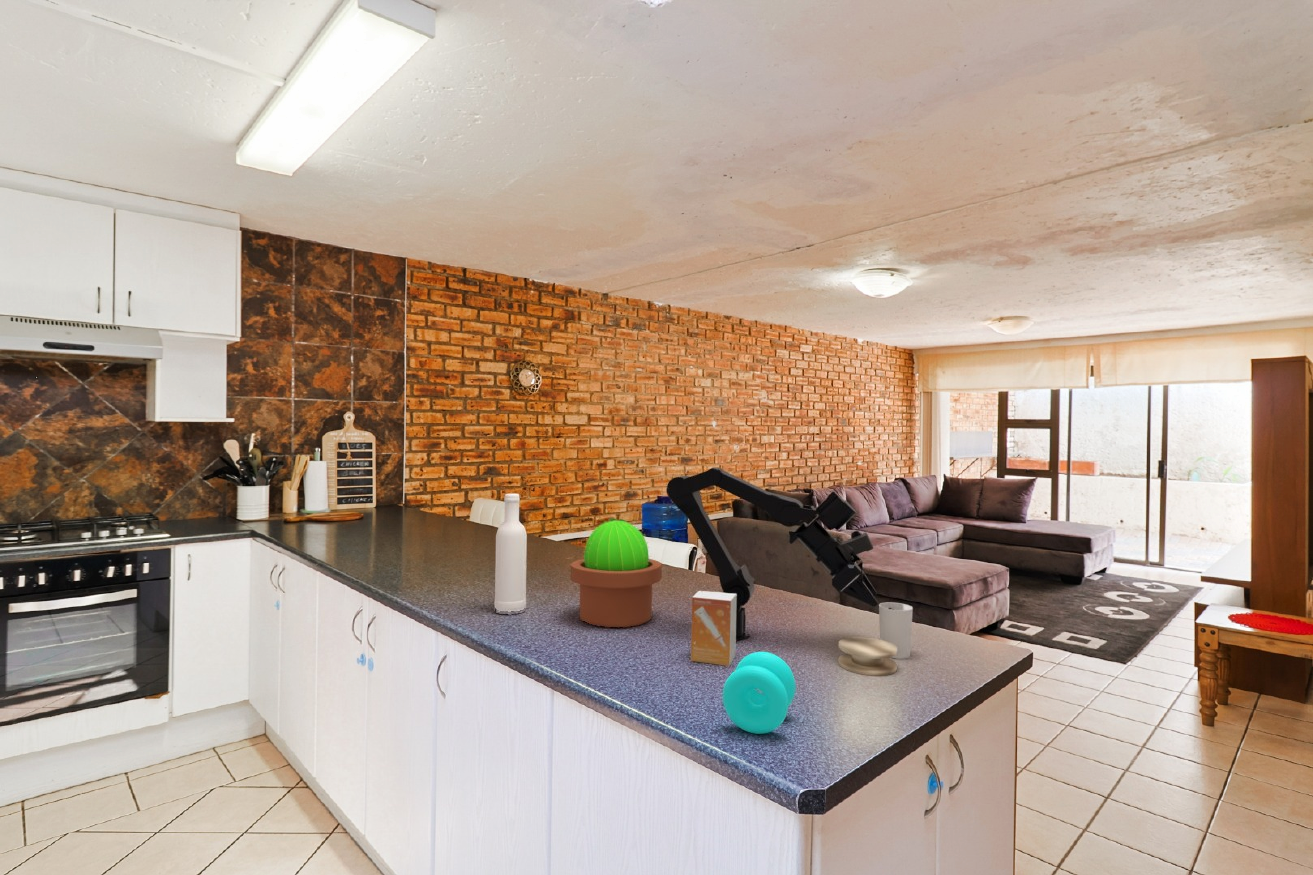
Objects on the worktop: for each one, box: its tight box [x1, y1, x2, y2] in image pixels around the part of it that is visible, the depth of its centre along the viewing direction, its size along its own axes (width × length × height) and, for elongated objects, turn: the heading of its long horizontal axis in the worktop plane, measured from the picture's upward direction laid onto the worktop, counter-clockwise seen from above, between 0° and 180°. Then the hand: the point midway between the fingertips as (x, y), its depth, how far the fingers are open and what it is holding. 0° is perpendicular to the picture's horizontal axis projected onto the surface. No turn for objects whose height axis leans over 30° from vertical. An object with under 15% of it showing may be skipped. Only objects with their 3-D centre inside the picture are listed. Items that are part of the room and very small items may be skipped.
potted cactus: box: [570, 518, 663, 629], centre depth 159 cm, size 22×22×25 cm
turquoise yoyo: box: [722, 651, 797, 735], centre depth 100 cm, size 10×10×10 cm
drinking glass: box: [878, 601, 914, 660], centre depth 134 cm, size 7×7×10 cm
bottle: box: [494, 493, 528, 612], centre depth 164 cm, size 8×8×30 cm
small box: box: [690, 590, 737, 667], centre depth 130 cm, size 8×6×13 cm
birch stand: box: [838, 636, 898, 677], centre depth 127 cm, size 11×11×4 cm
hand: (875, 599), depth 136 cm, fingers open, 9 cm apart
